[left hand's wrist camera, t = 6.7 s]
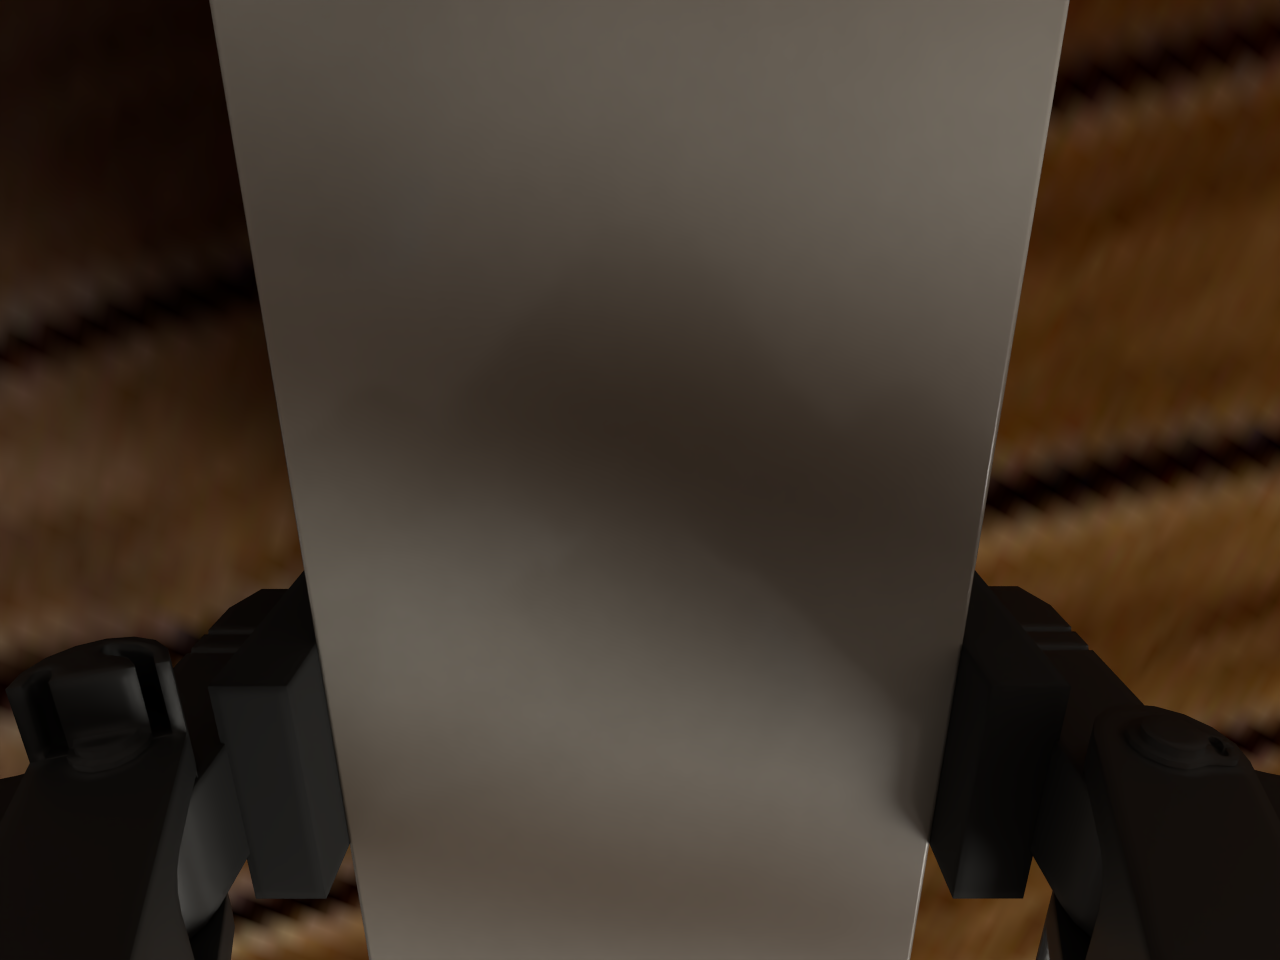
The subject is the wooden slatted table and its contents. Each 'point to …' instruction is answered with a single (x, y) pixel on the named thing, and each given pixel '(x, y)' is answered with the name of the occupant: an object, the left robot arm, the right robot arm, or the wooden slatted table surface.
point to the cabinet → (639, 443)
